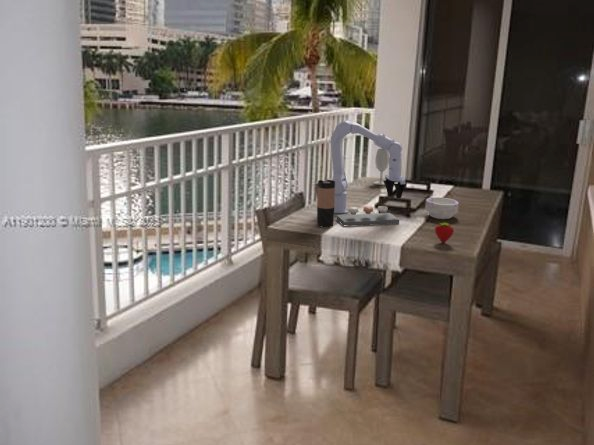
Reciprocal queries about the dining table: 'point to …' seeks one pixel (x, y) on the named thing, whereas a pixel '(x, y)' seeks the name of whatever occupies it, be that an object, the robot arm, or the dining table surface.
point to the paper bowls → (441, 207)
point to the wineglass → (381, 163)
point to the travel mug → (325, 203)
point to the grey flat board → (368, 219)
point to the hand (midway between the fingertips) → (394, 196)
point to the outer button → (382, 209)
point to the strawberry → (444, 231)
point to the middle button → (368, 210)
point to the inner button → (353, 210)
